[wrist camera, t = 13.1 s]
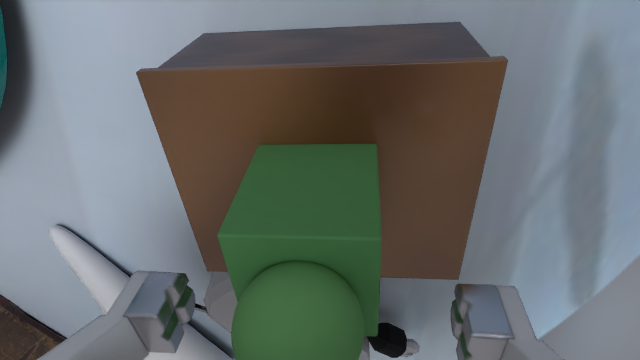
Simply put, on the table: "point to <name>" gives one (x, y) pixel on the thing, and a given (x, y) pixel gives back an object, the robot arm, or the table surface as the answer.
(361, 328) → the green toy
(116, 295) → the long cone
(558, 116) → the table surface
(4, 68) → the boat on round base
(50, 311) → the table surface
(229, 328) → the robot toy
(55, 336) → the book
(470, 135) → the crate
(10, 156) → the table surface
